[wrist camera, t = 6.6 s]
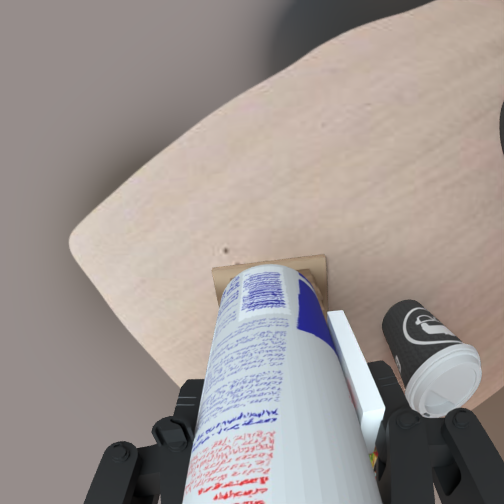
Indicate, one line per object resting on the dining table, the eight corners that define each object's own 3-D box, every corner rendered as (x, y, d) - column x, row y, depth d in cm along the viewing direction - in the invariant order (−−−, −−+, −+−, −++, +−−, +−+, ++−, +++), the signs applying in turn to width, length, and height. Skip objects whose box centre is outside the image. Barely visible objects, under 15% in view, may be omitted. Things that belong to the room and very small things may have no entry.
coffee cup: (361, 313, 40) (401, 391, 25) (422, 276, 38) (483, 338, 24) (384, 359, 42) (420, 434, 28) (439, 325, 40) (489, 390, 26)
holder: (212, 267, 38) (196, 316, 27) (323, 254, 37) (347, 298, 26) (240, 396, 45) (236, 454, 34) (327, 386, 44) (341, 443, 33)
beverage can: (217, 338, 20) (176, 581, 6) (226, 254, 18) (160, 543, 4) (305, 348, 20) (347, 582, 6) (325, 267, 18) (437, 528, 4)
